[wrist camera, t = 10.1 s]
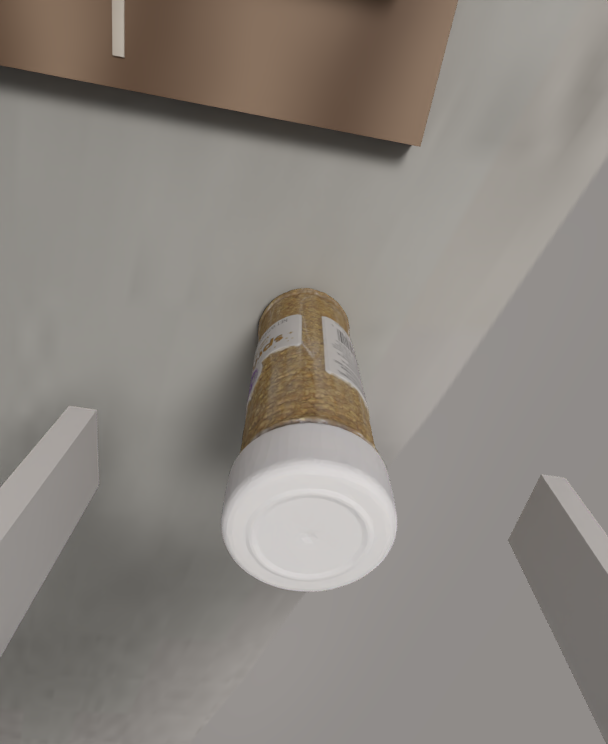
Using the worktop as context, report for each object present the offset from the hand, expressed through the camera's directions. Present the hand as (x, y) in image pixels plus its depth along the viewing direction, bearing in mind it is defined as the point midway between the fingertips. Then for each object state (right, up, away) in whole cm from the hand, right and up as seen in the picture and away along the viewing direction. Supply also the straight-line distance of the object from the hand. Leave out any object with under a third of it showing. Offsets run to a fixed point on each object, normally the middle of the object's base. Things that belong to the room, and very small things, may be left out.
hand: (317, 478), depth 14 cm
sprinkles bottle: (0, +5, +10) cm, 11 cm away
